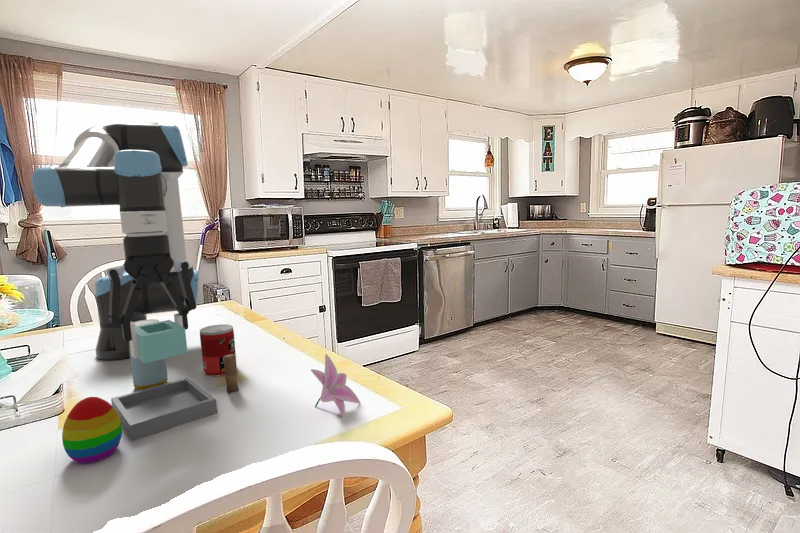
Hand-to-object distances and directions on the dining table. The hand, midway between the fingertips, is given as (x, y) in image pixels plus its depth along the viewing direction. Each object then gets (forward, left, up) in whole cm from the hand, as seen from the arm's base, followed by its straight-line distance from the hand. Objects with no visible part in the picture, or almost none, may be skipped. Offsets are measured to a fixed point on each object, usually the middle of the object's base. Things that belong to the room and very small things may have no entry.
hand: (158, 351), depth 88 cm
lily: (+23, +25, -13) cm, 36 cm away
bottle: (-19, +2, -13) cm, 23 cm away
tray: (-1, 0, -13) cm, 13 cm away
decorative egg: (+8, -13, -13) cm, 20 cm away
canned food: (-16, +17, -13) cm, 27 cm away
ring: (0, 0, 0) cm, 0 cm away
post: (-1, +14, -13) cm, 19 cm away
